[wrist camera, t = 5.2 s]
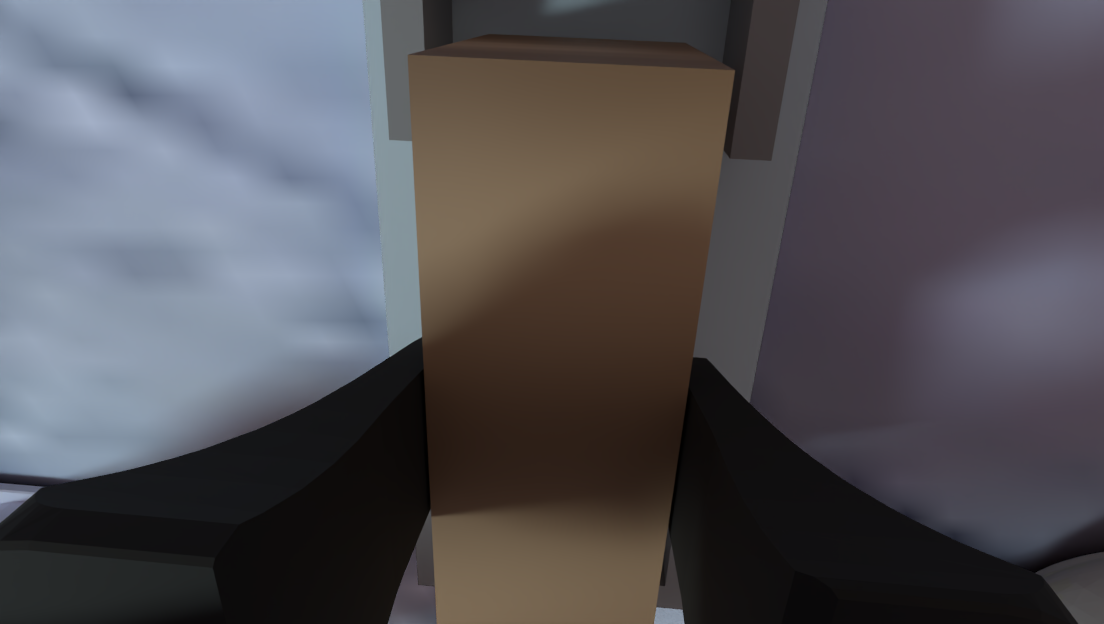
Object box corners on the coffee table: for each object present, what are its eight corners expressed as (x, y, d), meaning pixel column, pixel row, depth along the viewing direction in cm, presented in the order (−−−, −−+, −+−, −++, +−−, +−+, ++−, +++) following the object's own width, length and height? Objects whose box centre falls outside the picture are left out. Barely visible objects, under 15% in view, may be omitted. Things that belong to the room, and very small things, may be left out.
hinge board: (714, 540, 22) (731, 632, 18) (411, 513, 22) (377, 598, 19) (835, -110, 14) (901, -145, 11) (369, -125, 14) (300, -161, 11)
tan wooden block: (631, 505, 18) (640, 714, 13) (490, 493, 19) (440, 694, 13) (685, 43, 13) (735, 70, 8) (489, 34, 14) (407, 54, 8)
